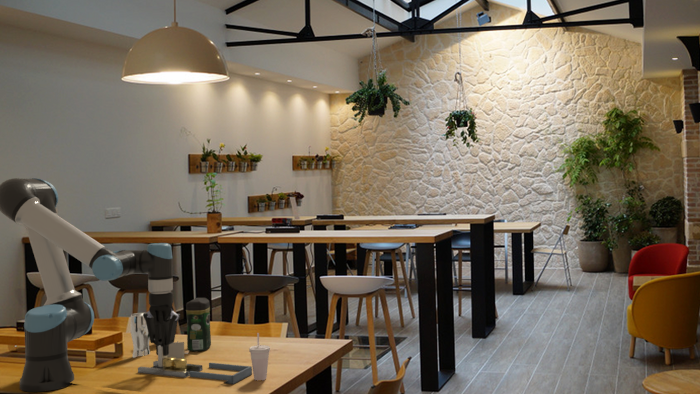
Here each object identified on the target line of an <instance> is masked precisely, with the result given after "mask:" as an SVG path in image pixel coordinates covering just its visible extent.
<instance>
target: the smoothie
mask: <svg viewBox="0 0 700 394" xmlns="http://www.w3.org/2000/svg"><path fill="white" fill-rule="evenodd" d="M256 337H257V338H256V339H257V341H256V343H257V345H252V346H250V347H249V348H248V349H249V353H250V360H251V367H252V375H253V380H254V381H256V380H257V381H258V380H262V381H265V379H266V380H267V378H268V365H269V358H270V356H269V355H270V351H271V347H270V346H269V345H264V344H261V345H260V333H259V332H257V333H256Z"/></svg>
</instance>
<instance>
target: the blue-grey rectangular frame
mask: <svg viewBox="0 0 700 394" xmlns="http://www.w3.org/2000/svg"><path fill="white" fill-rule="evenodd" d="M208 368H209V369H217V370H218V369H219V370H227V371H235V372H236V373H234V374H225V373H223V374H222V373H214V372H205V371H204V372H203V371H199V372H195V371H190V376H189V377H190V378H199V379H210V380H217V381H219V380H220V381H223V384H228V385H235V384H236V383H239V382H240V381H242V380H244V379H246V378H248V377H249V376H252V375H253V367H252V365H251V366H249V365H239V364H229V363H227V364H226V363H217V362H208ZM237 371H238V372H237Z"/></svg>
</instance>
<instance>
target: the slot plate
mask: <svg viewBox="0 0 700 394" xmlns="http://www.w3.org/2000/svg"><path fill="white" fill-rule="evenodd" d="M152 364H153V366H151V367H150V366H148V367H147V366H139V367H137V373H138V374H148V375H157V376H165V377H167V376H168V377H174V378H175V377H176V378H183V379H186V378H188V377H190V371H195V372H203V364H193V363H187V371H179V370H170V369H163V367H159V366H158V360H154V361H153V363H152Z"/></svg>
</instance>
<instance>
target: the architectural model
mask: <svg viewBox="0 0 700 394" xmlns="http://www.w3.org/2000/svg"><path fill="white" fill-rule="evenodd" d="M189 352H190V350H188V349H187V350H185V342H184V341H174V343H171V344H169V355H167V357H176V359H177V358H185V355H188V354H189Z"/></svg>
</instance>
